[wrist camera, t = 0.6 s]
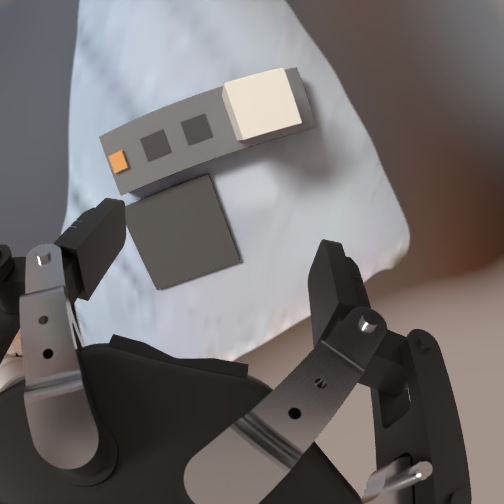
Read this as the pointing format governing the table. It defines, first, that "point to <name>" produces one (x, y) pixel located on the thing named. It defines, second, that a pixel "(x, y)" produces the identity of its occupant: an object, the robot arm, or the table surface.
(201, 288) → the table surface
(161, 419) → the robot arm
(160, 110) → the power strip
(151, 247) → the mat
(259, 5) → the table surface
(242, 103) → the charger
